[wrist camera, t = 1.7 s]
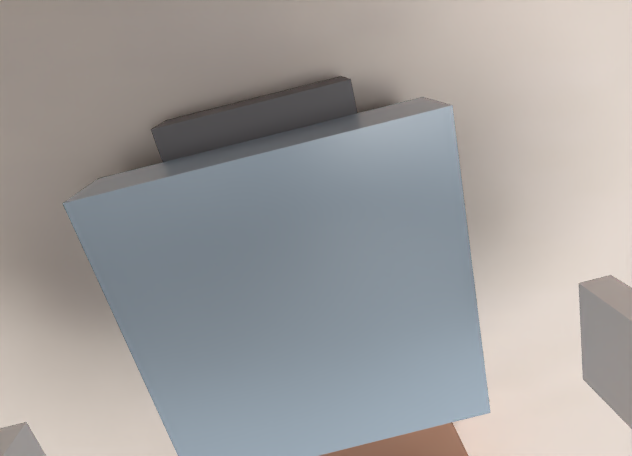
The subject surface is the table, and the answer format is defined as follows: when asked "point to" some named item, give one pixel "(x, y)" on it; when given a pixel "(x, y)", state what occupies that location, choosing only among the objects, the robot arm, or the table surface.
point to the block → (255, 118)
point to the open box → (412, 444)
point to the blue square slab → (296, 284)
